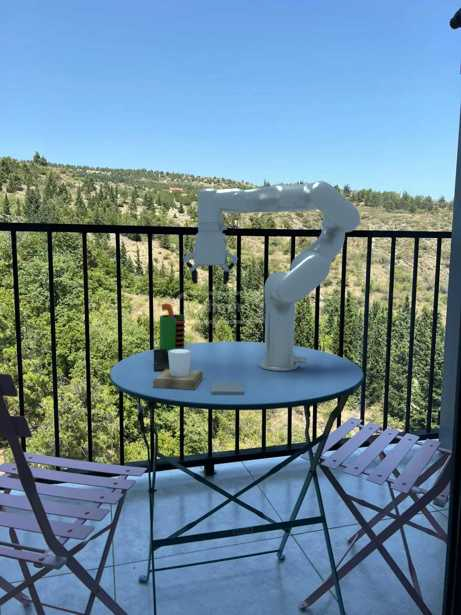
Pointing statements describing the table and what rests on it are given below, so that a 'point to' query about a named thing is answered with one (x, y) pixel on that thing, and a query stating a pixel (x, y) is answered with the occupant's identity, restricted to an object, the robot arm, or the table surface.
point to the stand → (178, 380)
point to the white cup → (179, 362)
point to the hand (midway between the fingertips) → (210, 283)
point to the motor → (171, 330)
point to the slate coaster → (227, 388)
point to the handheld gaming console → (161, 360)
